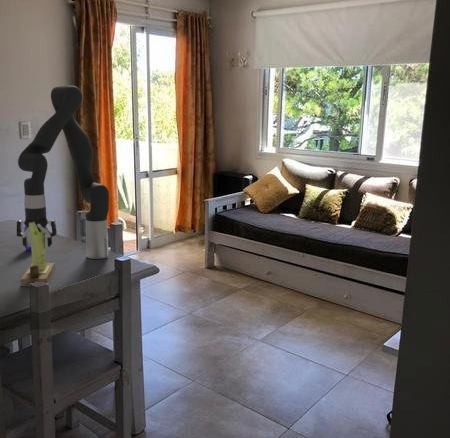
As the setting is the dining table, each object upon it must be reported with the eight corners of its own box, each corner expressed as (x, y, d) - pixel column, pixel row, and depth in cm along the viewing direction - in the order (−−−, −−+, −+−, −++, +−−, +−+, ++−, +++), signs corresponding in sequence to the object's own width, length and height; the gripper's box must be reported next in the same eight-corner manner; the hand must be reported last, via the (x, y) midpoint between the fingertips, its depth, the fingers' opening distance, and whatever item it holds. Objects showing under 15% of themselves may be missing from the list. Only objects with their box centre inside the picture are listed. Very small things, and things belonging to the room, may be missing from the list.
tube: (45, 271, 188) (42, 222, 183) (31, 271, 186) (28, 222, 182) (47, 266, 193) (44, 218, 188) (33, 266, 192) (30, 218, 187)
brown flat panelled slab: (55, 269, 199) (54, 253, 197) (46, 286, 182) (45, 268, 180) (32, 270, 197) (30, 254, 196) (21, 286, 180) (20, 269, 179)
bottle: (34, 252, 220) (32, 215, 216) (23, 250, 221) (20, 214, 217) (43, 247, 227) (41, 211, 223) (32, 246, 228) (30, 210, 224)
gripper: (56, 203, 188) (58, 243, 192) (17, 203, 186) (20, 243, 190) (53, 207, 181) (55, 249, 185) (12, 207, 179) (15, 249, 183)
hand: (37, 246), depth 188 cm, fingers open, 8 cm apart
